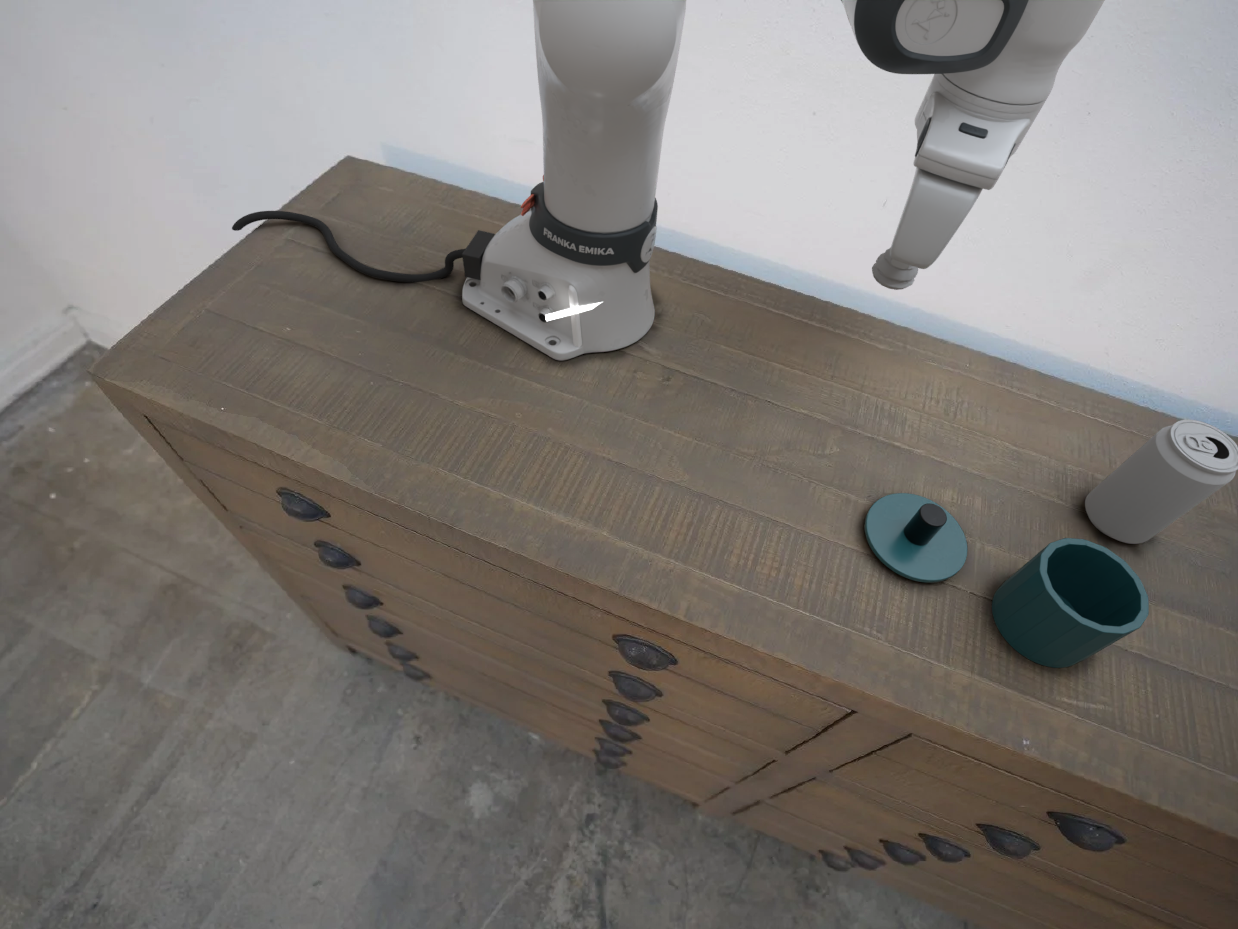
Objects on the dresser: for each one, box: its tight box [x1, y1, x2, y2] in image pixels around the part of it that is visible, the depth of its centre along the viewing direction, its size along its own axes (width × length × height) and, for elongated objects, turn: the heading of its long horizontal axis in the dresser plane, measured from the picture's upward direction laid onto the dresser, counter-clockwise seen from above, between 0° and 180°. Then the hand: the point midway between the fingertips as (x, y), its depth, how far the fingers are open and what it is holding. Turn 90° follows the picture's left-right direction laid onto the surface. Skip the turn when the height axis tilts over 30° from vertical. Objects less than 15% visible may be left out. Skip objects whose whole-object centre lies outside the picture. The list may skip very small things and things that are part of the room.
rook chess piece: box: [871, 246, 919, 291], centre depth 67 cm, size 4×4×8 cm
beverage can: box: [1084, 419, 1238, 545], centre depth 62 cm, size 6×6×12 cm
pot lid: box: [864, 492, 968, 584], centre depth 61 cm, size 9×9×5 cm
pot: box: [991, 537, 1150, 669], centre depth 56 cm, size 8×8×8 cm
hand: (903, 252), depth 68 cm, fingers closed on rook chess piece, 3 cm apart
